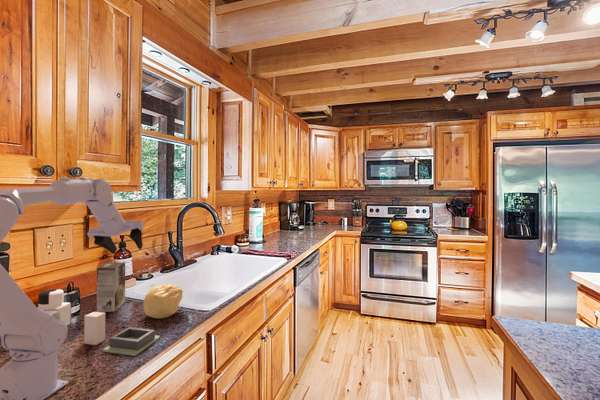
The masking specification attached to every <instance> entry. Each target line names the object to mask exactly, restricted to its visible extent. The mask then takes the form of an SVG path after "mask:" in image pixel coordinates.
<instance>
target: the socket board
mask: <svg viewBox="0 0 600 400" xmlns="http://www.w3.org/2000/svg"><path fill="white" fill-rule="evenodd" d="M160 339H161V335H157V334H156V329H150V328H149V329H148V328H140V327H132V326H129V327H127V328H125V329H123V330H122V331H120V332H118V333H116V334H114V335H113V336H111V337H110V338H109V342H108V343H109V345H108V346H106V347H104V348H103V349H102V352H103V353H110V354H111V353H112V354H119V355H126V356H135V357H136V356H137V355H139V354H140V353H141V352H142V351H145V350H146V349H147V348H149V347H150V346H151V345H152V344H154V343H155V342H156V341H158V340H160Z"/></svg>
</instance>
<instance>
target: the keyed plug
mask: <svg viewBox="0 0 600 400" xmlns="http://www.w3.org/2000/svg"><path fill="white" fill-rule="evenodd" d="M83 317H84V321H83V322H84V325H83V326H84V327H83V328H84V331H83V332H84V334H83V335H84V336H83V337H84V338H83V339H84V340H83V341H84V344H86V345H92V346H98V345H99V344H100V343H103V342H104V341H105V340H106V312H97V311H93V312H90V313H88V314H85V315H84V316H83Z"/></svg>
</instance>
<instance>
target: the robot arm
mask: <svg viewBox="0 0 600 400" xmlns="http://www.w3.org/2000/svg"><path fill="white" fill-rule="evenodd" d="M48 202H52V203H54V204H55V205H58V206H66V205H72V204H78V203H84V202H85V204H86V207H88V209H89V210H90V212H91V214H92V215H93V217H94V218H95V220H96V222H97V224H98V225H99V226H98V227H95V228H91V229H89V230H88V231H87V233H86V234H87V236H88V238H89V239H90V240H91V239H92V240H93V239H94V241H93V244H94V245H96V246H100V247H101V248H104V249H105V250H107V251H108V252H110V253H111V254H112V255H115V254H116V253H117V250H118V249H117V245H116V244H115V243H114V240H113V239H112V237H116V236H119V235H121V234H124V233H126V232H129V231H130V233H129V236H128V237H129V238H130V239H131V240H132V241H133V243H135V246H136V247H137V249H138V250H142V248H143V245H144V244H143V238H142V231H143V230H144V227H145V224H144V222H143V220H137V221H136V220H125V219H124V218H123V216H122V214H121V213H120V211H119V209H118V207H117V205H116V204H115V202H114V197H113V194H112V186H111V183H110V182H107V181H106V180H105V179H103V178H87V177H86V176H83V177H82V176H81V177H80V176H79V178H77V179H71V178H70V177H60V178H59V180H54V181H53V182H51V183H50V184H49V185H48V186H41V187H39V186H38V187H20V188H16V187H15V188H0V244H1V243H2V242H3V240H4V239H5V238H6V236H7V235H8V234H9V233H10V231H11V230H12V229H13V228H14V226H15V225H16V223H17V221H18V219H19V216H20V215H24V213H25V206H31V205H37V204H42V203H48ZM68 329H69V328H68V325H66V323H65V322H64V321H60V320H57V319H55V317H54V316H53V315H51V314H49V313H46V312H44V311H42V310H39V309H38V308H37V306H36V305H35V304H34V303H33V301H32V300H31V298H29V297H28V295H27V294H26V292H25V291H24V289H22V288H21V287H20V285H19V284H18V283H17V282H16V280H15V279H14V278H13V277H12V276H11V275H10V273H9V271H7V269H5V267H4V266H3V264H1V263H0V340H1V341H0V342H1V346H2V347H3V349H4V350H7V351H8V352H9V357H11V358H10V360H9V361H8V362H7V363H6V364H4V365H3V366H1V367H0V400H45V399H47V398H48V397H50V396H51V395H53V394H54V393H56V392H57V391H59V390H60V389H62V388H63V387H65V386H67V385H68V384H69V381H67V380H62V379H58V363H59V362H58V361H59V359H58V358H59V357H58V349H59V348H60V349H61V346H63V344H64V342H65V341H66V338H67V336H68Z"/></svg>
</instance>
